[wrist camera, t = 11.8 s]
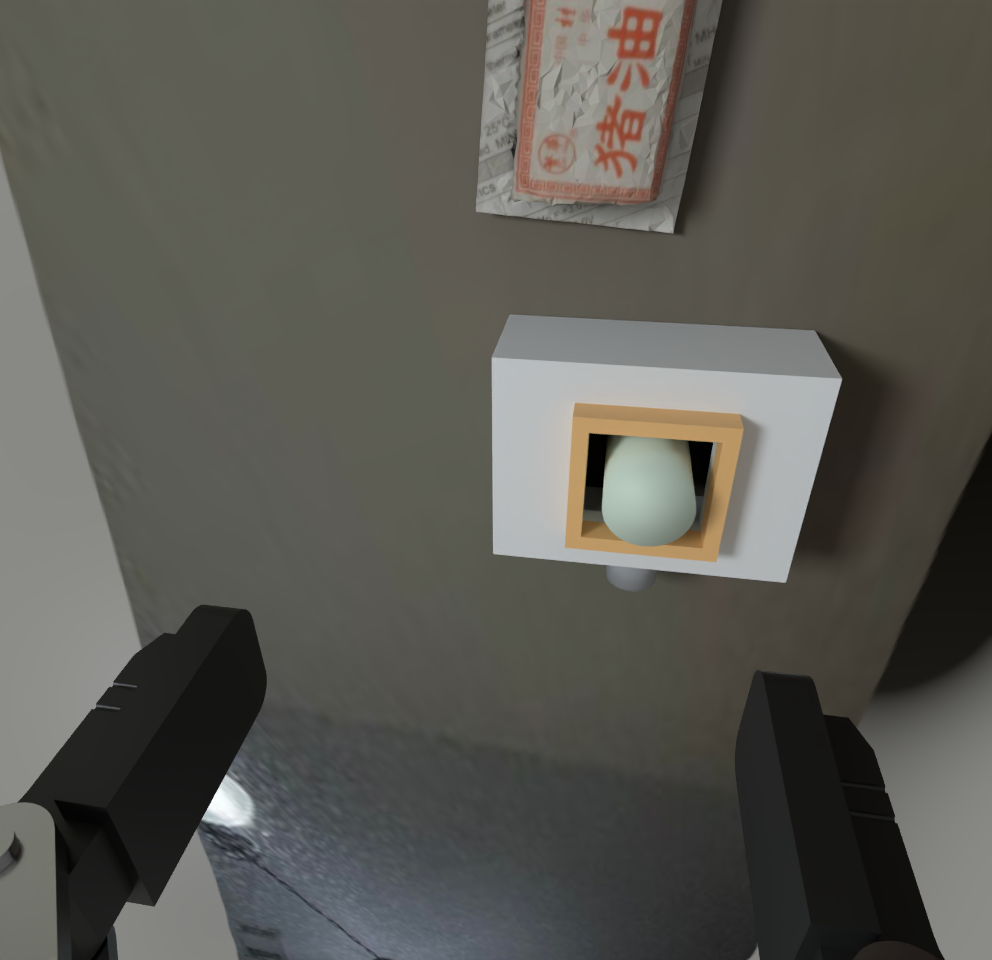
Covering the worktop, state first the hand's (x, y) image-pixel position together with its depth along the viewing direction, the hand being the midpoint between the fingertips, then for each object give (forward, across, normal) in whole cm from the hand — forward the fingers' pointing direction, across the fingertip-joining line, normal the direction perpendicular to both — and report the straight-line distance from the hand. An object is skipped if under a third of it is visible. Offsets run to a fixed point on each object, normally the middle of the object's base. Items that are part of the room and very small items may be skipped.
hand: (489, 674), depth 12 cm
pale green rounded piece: (+30, -4, +11) cm, 32 cm away
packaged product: (+31, 0, -9) cm, 32 cm away
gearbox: (+30, -4, +13) cm, 33 cm away
